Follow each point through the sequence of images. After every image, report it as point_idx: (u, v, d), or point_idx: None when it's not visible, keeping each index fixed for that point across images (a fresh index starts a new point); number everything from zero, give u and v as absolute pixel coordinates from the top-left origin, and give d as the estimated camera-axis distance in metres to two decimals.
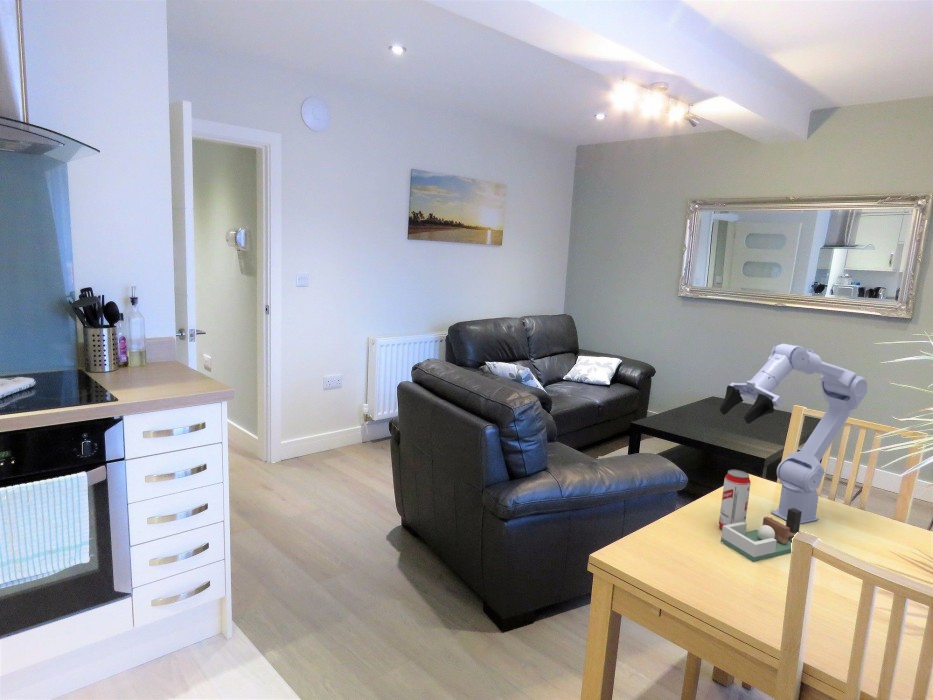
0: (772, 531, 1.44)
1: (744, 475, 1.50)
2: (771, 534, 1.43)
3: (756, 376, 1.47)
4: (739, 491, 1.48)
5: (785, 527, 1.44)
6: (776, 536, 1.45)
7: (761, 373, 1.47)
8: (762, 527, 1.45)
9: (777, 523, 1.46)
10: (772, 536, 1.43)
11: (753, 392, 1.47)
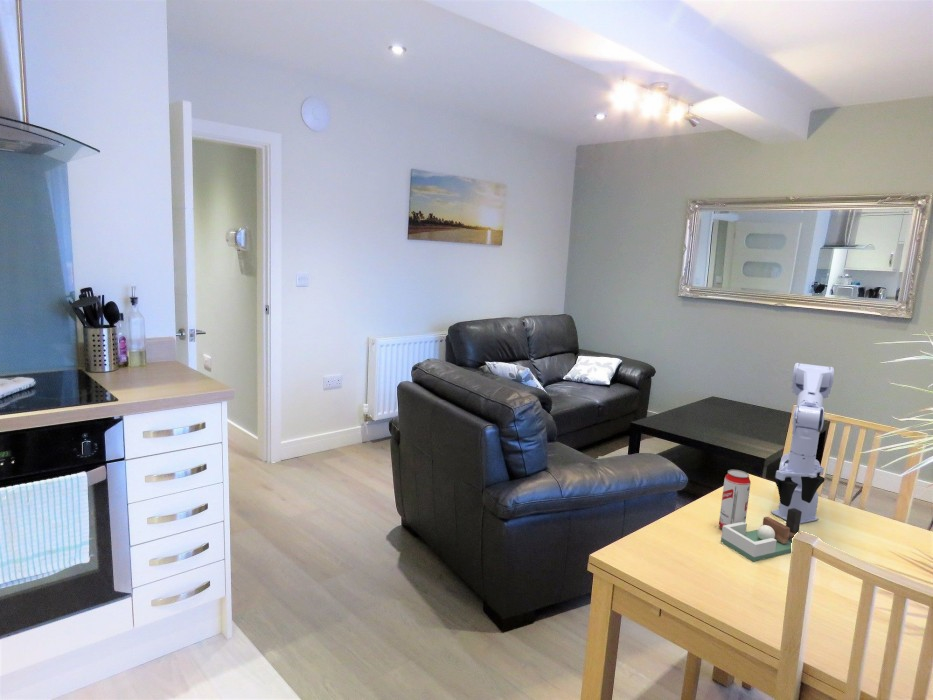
0: (772, 531, 1.44)
1: (744, 475, 1.50)
2: (771, 534, 1.43)
3: (809, 463, 1.43)
4: (739, 491, 1.48)
5: (785, 527, 1.44)
6: (776, 536, 1.45)
7: (812, 458, 1.43)
8: (762, 527, 1.45)
9: (777, 523, 1.46)
10: (772, 536, 1.43)
11: None
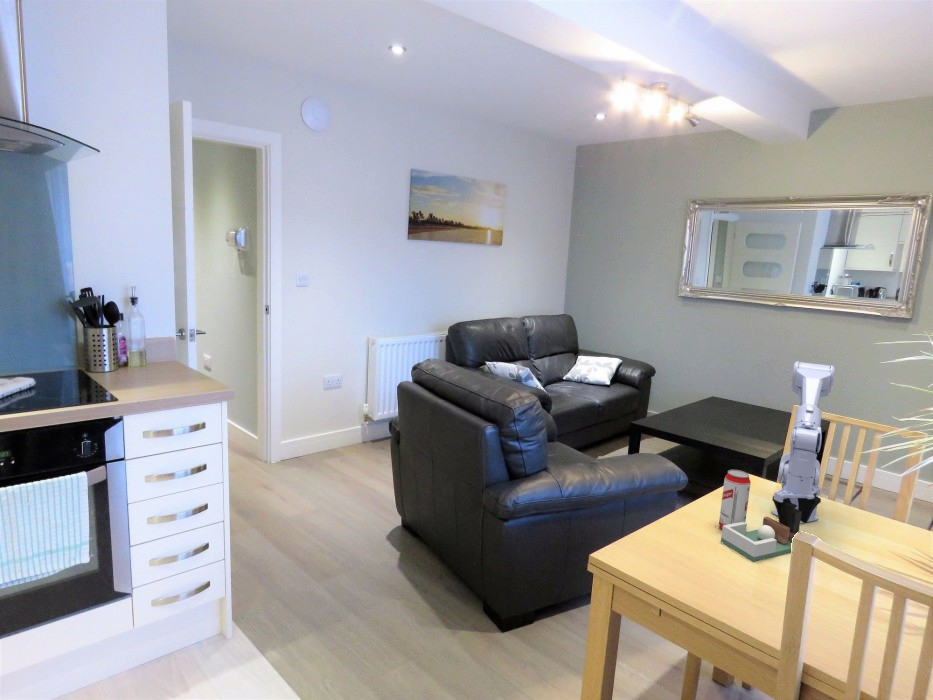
0: (772, 531, 1.44)
1: (744, 475, 1.50)
2: (771, 534, 1.43)
3: (807, 485, 1.44)
4: (739, 491, 1.48)
5: (785, 527, 1.44)
6: (776, 536, 1.45)
7: (810, 480, 1.44)
8: (762, 527, 1.45)
9: (777, 523, 1.46)
10: (772, 536, 1.43)
11: None
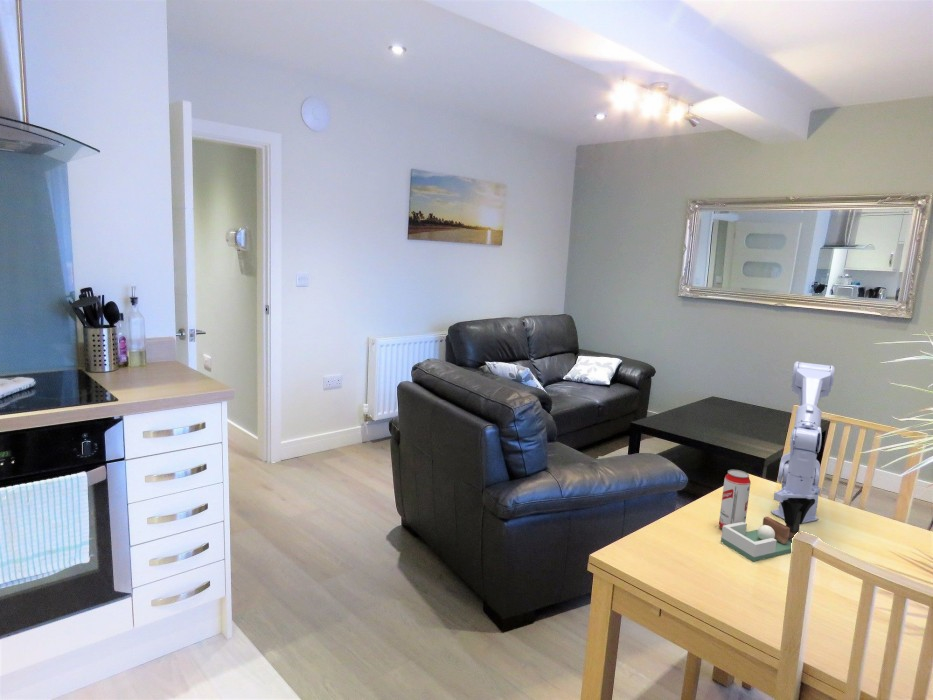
0: (772, 531, 1.44)
1: (744, 475, 1.50)
2: (771, 534, 1.43)
3: (807, 485, 1.44)
4: (739, 491, 1.48)
5: (785, 527, 1.44)
6: (776, 536, 1.45)
7: (810, 480, 1.44)
8: (762, 527, 1.45)
9: (777, 523, 1.46)
10: (772, 536, 1.43)
11: None
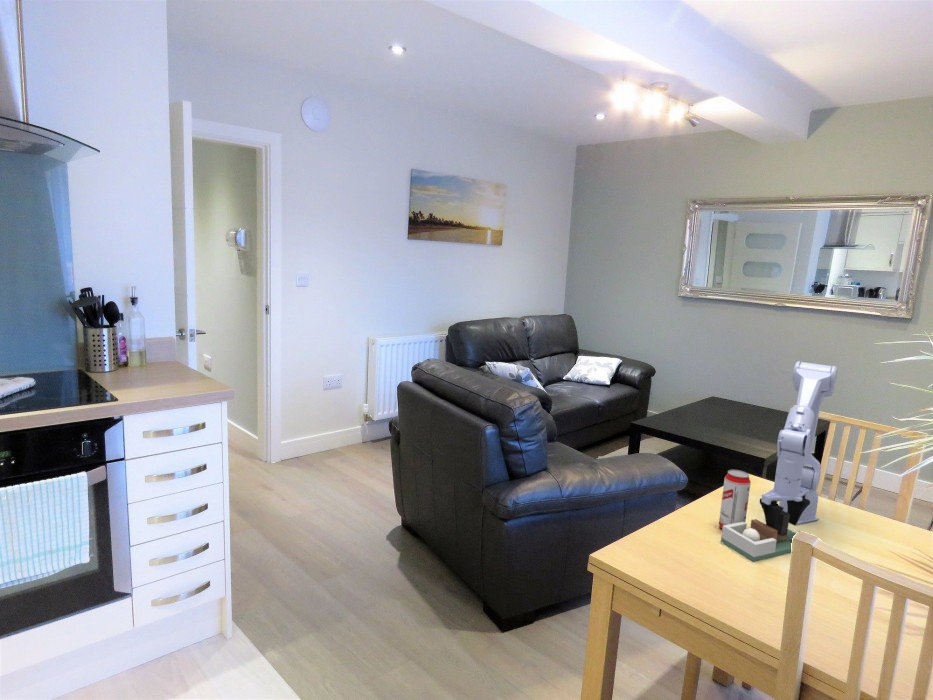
0: None
1: (744, 475, 1.50)
2: None
3: (795, 487, 1.42)
4: (739, 491, 1.48)
5: (773, 530, 1.42)
6: (764, 539, 1.44)
7: (798, 482, 1.42)
8: None
9: (765, 526, 1.44)
10: None
11: None
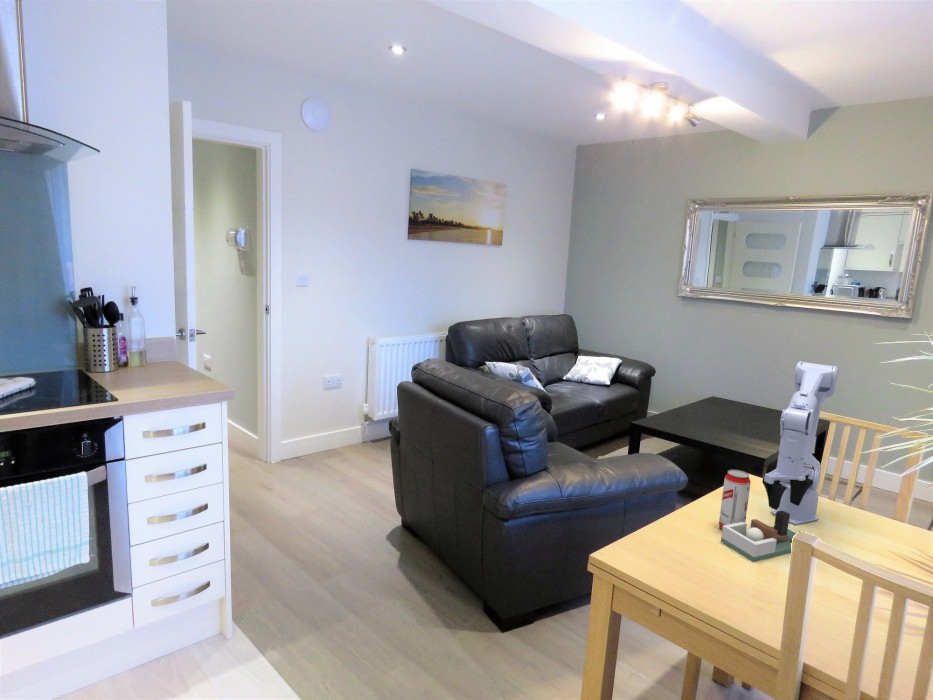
0: (756, 540, 1.42)
1: (744, 475, 1.50)
2: None
3: (798, 466, 1.41)
4: (739, 491, 1.48)
5: (773, 530, 1.42)
6: (764, 539, 1.44)
7: (801, 461, 1.41)
8: None
9: (765, 526, 1.44)
10: None
11: None
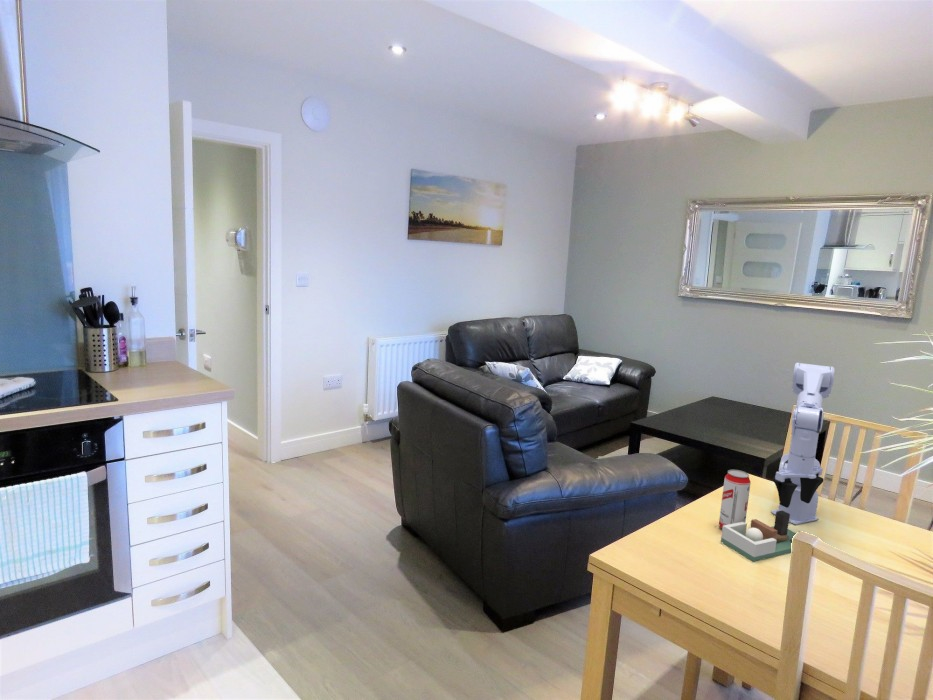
0: (755, 541, 1.42)
1: (744, 475, 1.50)
2: None
3: (809, 464, 1.43)
4: (739, 491, 1.48)
5: (773, 530, 1.42)
6: (764, 539, 1.44)
7: (812, 459, 1.42)
8: None
9: (765, 526, 1.44)
10: None
11: None
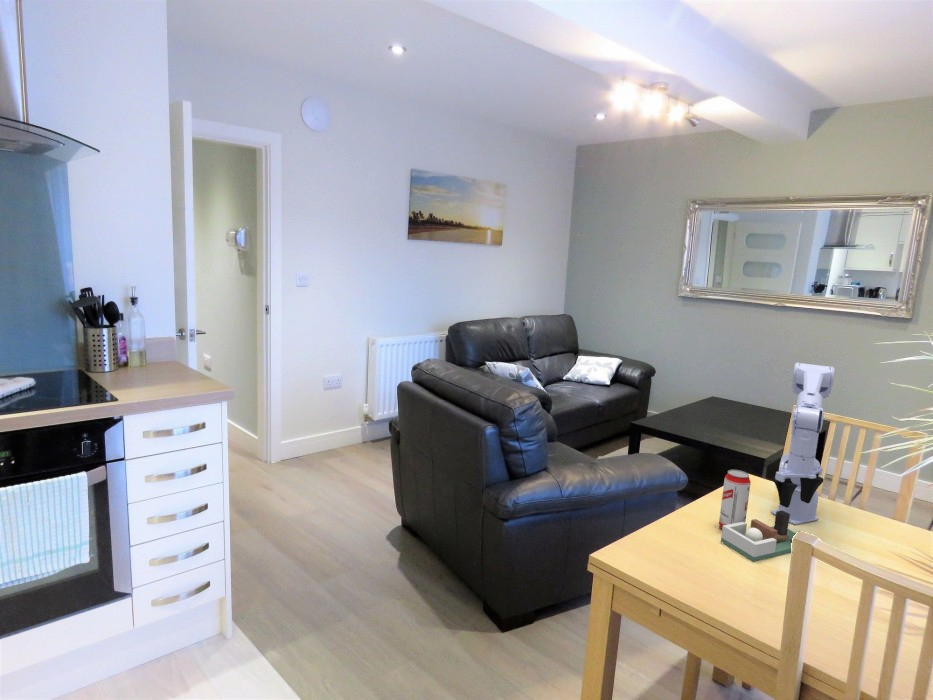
0: (755, 541, 1.42)
1: (744, 475, 1.50)
2: None
3: (809, 464, 1.43)
4: (739, 491, 1.48)
5: (773, 530, 1.42)
6: (764, 539, 1.44)
7: (812, 459, 1.42)
8: None
9: (765, 526, 1.44)
10: None
11: None
